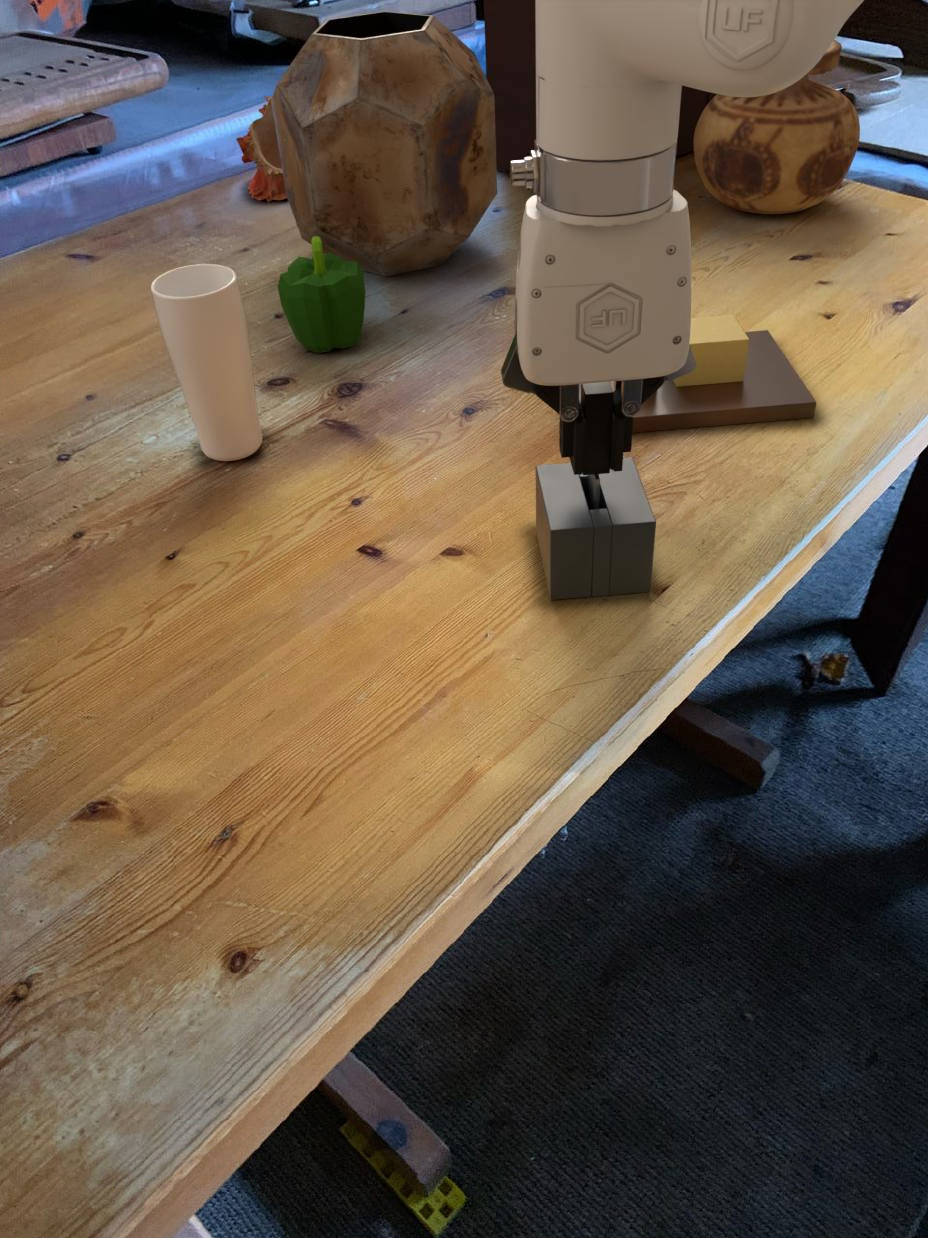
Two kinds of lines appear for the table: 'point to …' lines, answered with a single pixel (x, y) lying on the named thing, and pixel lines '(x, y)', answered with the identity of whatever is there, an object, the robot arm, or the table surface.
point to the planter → (386, 140)
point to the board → (732, 395)
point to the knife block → (594, 532)
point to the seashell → (264, 156)
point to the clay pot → (778, 144)
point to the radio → (516, 82)
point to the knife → (597, 435)
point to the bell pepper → (323, 300)
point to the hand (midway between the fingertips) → (594, 460)
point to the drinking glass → (211, 356)
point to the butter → (716, 351)
